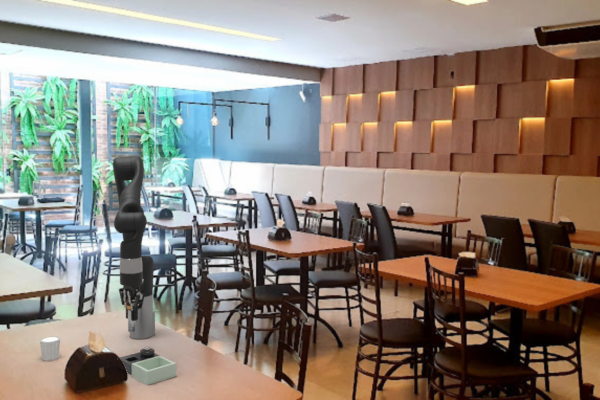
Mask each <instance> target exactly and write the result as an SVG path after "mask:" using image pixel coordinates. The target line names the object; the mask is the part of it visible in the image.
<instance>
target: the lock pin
mask: <svg viewBox="0 0 600 400" xmlns="http://www.w3.org/2000/svg"><path fill="white" fill-rule="evenodd" d="M133 305H134V304H133ZM127 309H128V319H127V332H129V333H130V332H135V331H136V321H132V320H131V304H130V305H127Z"/></svg>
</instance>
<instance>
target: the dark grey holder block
mask: <svg viewBox="0 0 600 400" xmlns="http://www.w3.org/2000/svg"><path fill="white" fill-rule="evenodd" d="M157 356H161V355H160V354H157V353H156V352H155V349H154V348H152V347H150V346H145V347H144V348H142V349H140V350H139V352H135V353H131V354H128V355H124V356H123V355H122V356H120V357H118V358H120V359H121V360H122V362H123V363H124V365H125V367H126V370H127V372H128V373H127V374H128V375H130V376H132V363H135V362H139V361H142V360H146V359H150V358H153V357H157Z"/></svg>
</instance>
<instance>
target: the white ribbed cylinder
mask: <svg viewBox="0 0 600 400" xmlns="http://www.w3.org/2000/svg"><path fill="white" fill-rule="evenodd" d="M39 344H40V352H41V360H43V361H46V362H47V361H49V362H50V361H54V360H55V361H56V360H57V359H60V358H59V357H60V346H61V337H59V336H48V337H46V336H45V337H44V338H43V337H42V338H41V339H39Z"/></svg>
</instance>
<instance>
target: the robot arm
mask: <svg viewBox="0 0 600 400" xmlns="http://www.w3.org/2000/svg"><path fill="white" fill-rule="evenodd" d="M144 168H145V167H144V162H143V159H142V157H141V156H139V155H131V156H130V155H129V156H128V155H127V156H118V157H115V158H113V160H112V171H113V176H114V182H115V187H116V193H117V198H118V207H119V209H118V211H117V213H116V215H115V216H114V217H115V218H114V221H113V226H114V229H115V231H116V232H117V233H119V234H122V241H121V242H120V245H119V246H120V247H119V251H120V252H119V255H120V256H119V257H120V259H119V260H120V261H119V284H120V285H121V286H122V287H121V288H118V293H119V297H120V302H121V305H122V306H124V308H125V318H126V319H127V320H128V309H127V305H130V304H131V320H132V321H136V331H135V332H129V337H130V338H131V339H135V340H143V339H149V338H151V337H153V336H155V335H156V313H155V311H154V302H153V301H154V295H153V294H154V290H153V289H154V269H155V262H154V259H153V257H152V256H151V255H150V256H149V255H142V253H143V252H142V246H143V244H142V243H143V237H144V235H145V230H146V228H147V223H148V220H147V216H146V215H145V210H144V209H143V207H142V205H141V203H142V202H141V200H142V199H141V194H142V189H143V183H144V175H145V172H144V171H145V169H144ZM128 181H130V182H129V183H128V184H126V183H125V182H128ZM133 304H134V305H133Z"/></svg>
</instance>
